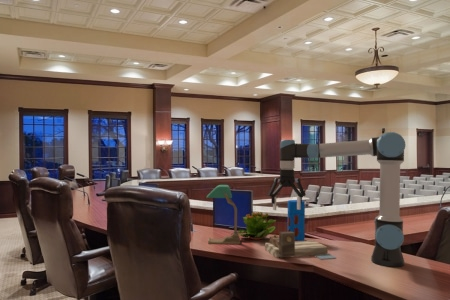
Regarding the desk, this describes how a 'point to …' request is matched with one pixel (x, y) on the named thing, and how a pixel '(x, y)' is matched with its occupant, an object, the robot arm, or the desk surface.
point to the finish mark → (325, 256)
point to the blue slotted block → (296, 219)
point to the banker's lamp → (225, 192)
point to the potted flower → (257, 226)
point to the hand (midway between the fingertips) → (286, 209)
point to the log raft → (300, 249)
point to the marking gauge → (284, 243)
